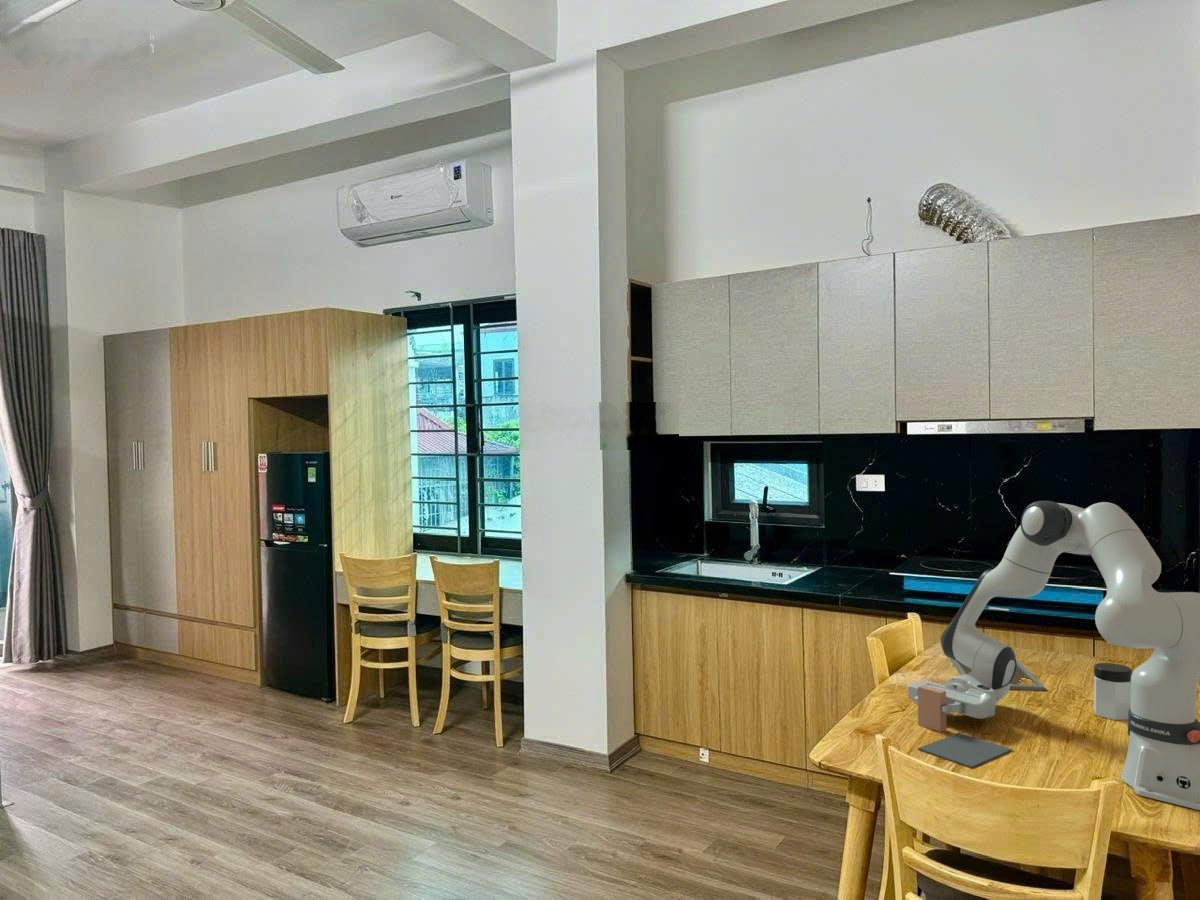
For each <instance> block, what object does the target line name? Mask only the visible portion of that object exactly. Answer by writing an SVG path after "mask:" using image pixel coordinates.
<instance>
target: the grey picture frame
mask: <svg viewBox="0 0 1200 900" xmlns="http://www.w3.org/2000/svg"><path fill="white" fill-rule="evenodd" d="M950 662H951V663H952V664H953V666H954V667H955V669H956V670H957V671H958V672H959V674H960V675H963V674H968V673H970V672H971V671H972V669H971V668H969V667H967V666H966V665H964V664H962V663H960V662H958V661H955V660H953V659H951V658H950ZM1016 662H1017V667H1016V671H1015V674H1014V677H1013V679H1012V680H1011V682H1010V689H1022V690H1021V691H1025V690H1024V689H1027V690H1026V691H1033V690H1045V691H1046V686H1044V685H1043V684H1042V682H1041V681H1039V679H1038V678H1036V676H1034V675H1033V674H1032V673H1031V672H1030V671H1029V670H1028V669H1027V668H1026V667H1025V666H1024V664H1022V663H1021V662H1020V661H1019V660H1018V659H1016ZM1024 675H1025V676H1024ZM1026 676H1027V677H1026ZM1021 678H1026V679H1030V680H1032V682H1033V683H1035V684H1036V686H1035V685H1019V684H1017V683H1021V682H1020V681H1019V680H1021V681H1023V680H1022V679H1021ZM1023 682H1025V681H1023ZM1012 684H1013V685H1012ZM1010 689H1009V690H1010Z"/></svg>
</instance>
